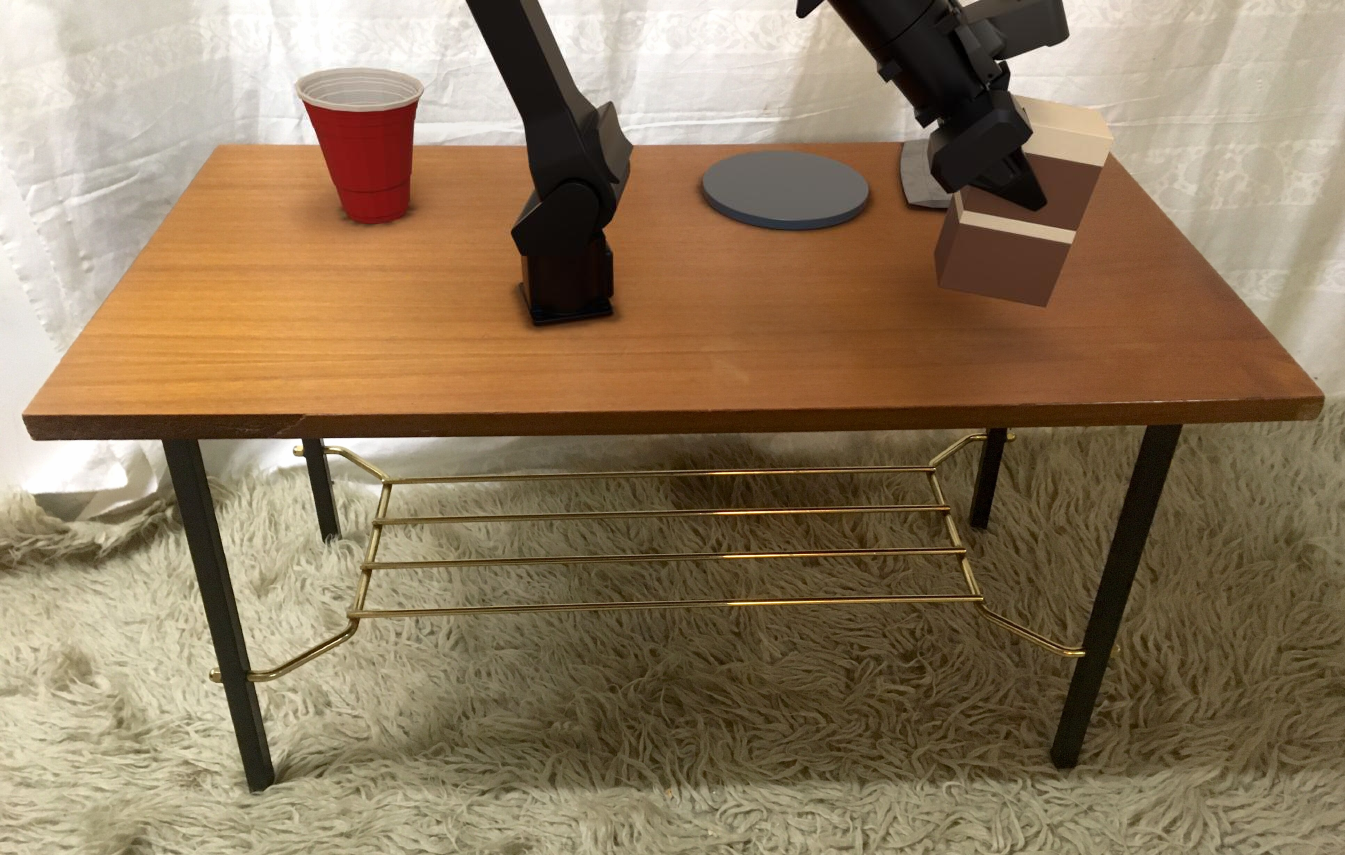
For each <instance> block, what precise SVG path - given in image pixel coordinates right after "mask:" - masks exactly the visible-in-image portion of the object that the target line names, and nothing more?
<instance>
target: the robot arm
mask: <svg viewBox="0 0 1345 855" xmlns="http://www.w3.org/2000/svg"><path fill="white" fill-rule="evenodd" d="M464 1H465V3H466V6H467V7H468V10H469V11H470V14H471V15H472V17H473V19H474V22H475V24H476V26H477V28H478V30H479V32H480V34H481V37H482V38H483V40H484V42H485V45H486V47H487V49H488V51H489V53H490V55H491V57H492V59H493V61H494V64H495V66H496V68H497V70H498V72H499V74H500V76H501V78H502V80H503V82H504V84H505V86H506V88H507V90H508V93H509V95H510V97H511V99H512V101H513V103H514V105H515V108H516V110H517V112H518V113H519V116H520V118H521V121H522V125H523V130H524V137H525V145H526V152H527V163H528V169H529V173H530V175H531V176H530V177H531V180H532V183H533V187H534V188H533V189H532V192H530V195H529V197H528V199H527V200H526V202H525V205H524V206H523V208H522V210H521V212H520V213H519V215H518V217H517V219H516V221H515V222H514V225H513V226H512V229H511V230H510V235H511V238H512V240H513V242H514V244H515V247H516V249H517V251H518V253H519V255H520V261H521V262H520V263H521V276H522V277H521V278H522V281H520V282H519V283H518V289H519V293H520V295H521V298H522V300H523V304H524V306H525V308H526V311H527V313H528V316H529V319H530V322H531V324H532V325H533V326H535V327H542V326H549V325H556V324H564V323H571V322H577V321H583V320H584V321H585V320H591V319H599V318H605V317H610V316H613V314H614V307H613V305H612V303H611V301H610V299H612V298H613V296H614V295H615V288H614V287H615V286H614V284H615V282H614V252H613V250H612V248H611V246H610V245H609V243H608V241H607V236H606V234H605V232H604V230H603V229H605V228H606V227H607V226H608V225H609V224H610V223H611V222H612V221H613V218H614V216H615V214H616V213H617V210H618V207H619V204H620V202H621V199H622V197H623V194H624V191H625V188H626V185H627V183H628V181H629V178H630V174H631V161H630V158H631V155H632V153H633V150H634V148H635V147H634V145H633V143H632V142H631V141H630V140H629V139H628V138H627V137H626V135H625V133H624V132H623V130H622V128H621V125H620V121H619V117H618V113H617V109H616V106H615V104H614V102H613V101H612V100H609V101H607V102H605V103H603V104H602V105H600V106H598V107H596V106H595V105H593V103H592V102H590V100H589V99H588V98H586V96H584V94H582V92H581V91H580V90H579V88H578V87H577V85H576V82H575V81H574V78H573V76H572V74H571V71H570V69H569V67H568V65H567V62H566V60H565V58H564V55H563V54H562V51H561V49H560V47H559V44H558V42H557V40H556V38H555V35H554V33H553V31H552V29H551V26H550V24H549V22H548V20H547V17H546V15H545V13H544V10H543V8H542V6H541V3H540V1H539V0H464ZM825 1H826V2H827V3H828V4H829V5H830V6H831V8H832V9H833V10H834V11H835V13H836V14H837V15H838V17H840V19H841V20H842V21H843V22H844V23H845V25H846V26H847V27H848V29H849V30H850V31H851V33H852V34H853V35H854V36H855V37H856V38H857V39H858V41H859V42H860V43H861V45H862V46H863V47H864V48H865V50H866V51H867V52H868V54H869V55H870V56H871V57H872V59H874V61H875V63H876V73H877V74H878V75H879V76H880V77H881V79H882V80H883V81H884V83H885V84H888V83H889V82H890V81H891V82H892V83H893V84H894V85H895V87H896V88H897V89H898V90H899V91H900V93H901V94H902V95H903V96H904V97H905V99H906V100H907V101H908V103H909V104H910V105H911V106H912V107H913V108H912V109H913V114H914V120H916V122H917V123H918V124H919V125H920V127H921V128H922V129H923V130H925V129H926V128H928V126H930V125H931V124H933V123H934V122H935V121H936V123H937V126H938V127H937V128H935V129H934V130H933V131H932V132H930V133H929V138H928V139H929V143H928V149H927V157H928V163H929V169H930V174H931V175H932V176H933V177H934V179H935V180H936V181H937V182H938V183H939V185H940V186H941V187H942V188H943V189H944V191H945V192H946V193H947V194H952V193H956V192H957V191H959V190H960V189H962V188H963V187H964V186H966V185H969V186H972V187H975V188H978V189H980V190H983V191H986V192H988V193H991V194H993V195H996V196H998V197H1000V198H1003V199H1005V200H1007V201H1010V202H1012V203H1014V204H1017V205H1019V206H1021V207H1024V208H1026V209H1028V210H1031V211H1033V212H1036V211H1038V210H1040V209H1041V208H1043V207H1044V206H1045V205H1047V203H1048V201H1047V198H1046V196H1045V194H1044V192H1043V190H1042V188H1041V186H1040V184H1039V182H1038V180H1037V177H1036V175H1035V173H1034V171H1033V169H1032V167H1031V165H1030V163H1029V161H1028V159H1027V157H1026V155H1025V153H1024V151H1023V149H1022V145H1023V144H1025V143H1026V142H1027V141H1028V140H1029V138H1030V137H1031V136H1032V134H1033V133H1034V132H1033V130H1032V127H1031V124H1030V121H1029V118H1028V116H1027V113H1026V111H1025V108H1024V107H1023V108H1022V107H1021V106H1020V104H1019V103H1018V102H1017V100H1016V99H1015V98H1014V96H1013V95H1012V94H1013V93H1012V92H1011V91H1010V90H1009V86H1010V81H1011V76H1012V72H1011V70H1010V67H1009V64H1008V61H1007V60H1009V59H1013V58H1015V57H1018V56H1020V55H1023V54H1026V53H1029V52H1032V51H1034V50H1037V49H1041V48H1043V47H1048V48H1052V47H1055V46H1057V45H1060V44H1062V43H1063V42H1065V41H1066V40H1068V39H1069V38H1070V35H1071V34H1070V29H1069V23H1068V20H1067V15H1066V11H1065V7H1064V6H1065V5H1064V1H1063V0H976V1H973V2H971V3H969V4H967V5H964V6H963V5H962V3H961V2H960V1H959V0H796V7H795V16H796V17H797V18H798V19H801V20H802V19H805V18H807V17H808V16H809V15H810V14H811V13H812V12H814V10H816V9H817V8H818V7H819V6H820V5H821V4H823V3H824V2H825Z"/></svg>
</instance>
